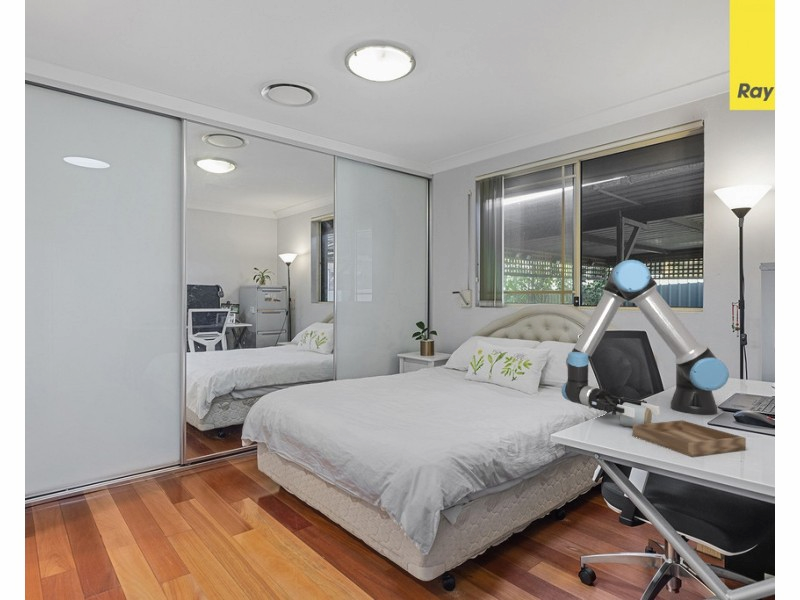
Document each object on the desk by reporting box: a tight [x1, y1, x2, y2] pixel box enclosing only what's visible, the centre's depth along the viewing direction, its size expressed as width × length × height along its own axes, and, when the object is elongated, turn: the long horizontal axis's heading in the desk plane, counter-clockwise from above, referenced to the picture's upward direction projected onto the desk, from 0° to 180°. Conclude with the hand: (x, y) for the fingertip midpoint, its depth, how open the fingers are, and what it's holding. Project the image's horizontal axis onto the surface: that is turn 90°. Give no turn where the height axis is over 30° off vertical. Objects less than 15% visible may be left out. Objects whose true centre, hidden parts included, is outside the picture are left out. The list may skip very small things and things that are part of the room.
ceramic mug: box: [619, 402, 653, 428], centre depth 154 cm, size 11×8×8 cm
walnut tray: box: [632, 420, 747, 458], centre depth 136 cm, size 20×20×4 cm
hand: (646, 412), depth 149 cm, fingers closed on ceramic mug, 9 cm apart
